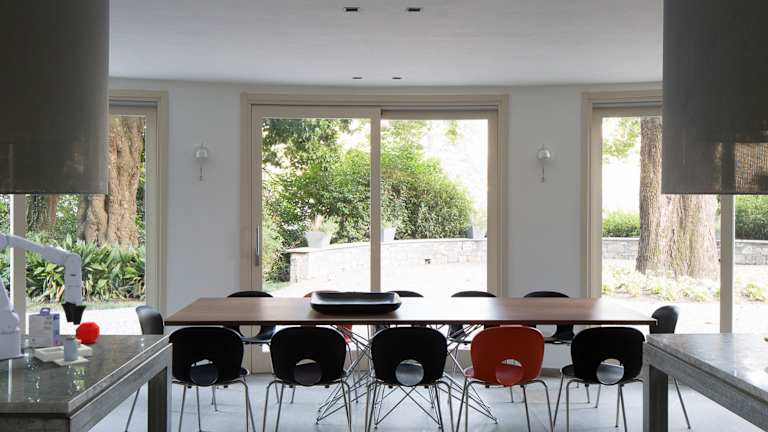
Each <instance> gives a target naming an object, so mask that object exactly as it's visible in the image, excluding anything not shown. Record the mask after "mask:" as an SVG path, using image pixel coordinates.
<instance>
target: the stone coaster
mask: <svg viewBox="0 0 768 432" xmlns="http://www.w3.org/2000/svg"><path fill="white" fill-rule="evenodd" d="M89 361H90V360H89V359H87V358H85V357H81V356H78V360H76V361H64V358H62V359H54V360H53V361H52V362H53V363H55V364H56V365H59V366H62V367H64V366H71V365H77V364H83V363H84V364H85V363H89Z"/></svg>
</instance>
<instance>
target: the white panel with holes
mask: <svg viewBox="0 0 768 432" xmlns="http://www.w3.org/2000/svg"><path fill="white" fill-rule="evenodd" d="M78 356H81V357H83V358H85V357H92V356H93V348H92V347H90V346H87V345H86V344H84V343H83V344H81V348H78ZM34 357H35V358H37V359H38V360H40V361H42V362H43V363H46V362H47V363H48V362H53V360H54V359H62V358H64V345H58V346H55V347H41V348H36V349H35V348H34Z"/></svg>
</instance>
